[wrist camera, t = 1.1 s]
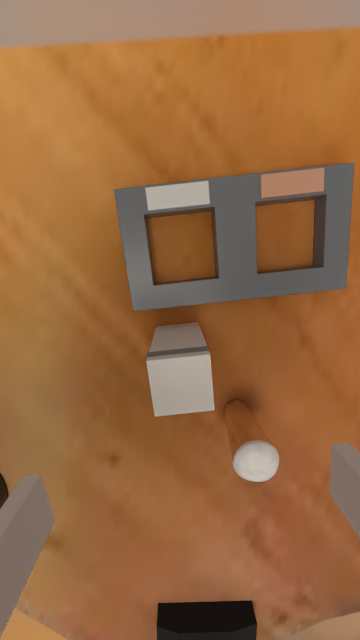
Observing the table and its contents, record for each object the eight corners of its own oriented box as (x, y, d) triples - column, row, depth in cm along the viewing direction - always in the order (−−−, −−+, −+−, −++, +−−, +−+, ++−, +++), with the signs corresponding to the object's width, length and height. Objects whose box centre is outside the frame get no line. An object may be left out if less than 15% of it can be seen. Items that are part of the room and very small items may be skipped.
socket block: (136, 307, 27) (132, 311, 25) (118, 195, 24) (113, 188, 22) (333, 286, 27) (347, 288, 25) (339, 170, 24) (356, 161, 22)
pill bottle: (215, 393, 30) (233, 455, 21) (255, 396, 30) (293, 460, 21) (210, 423, 31) (225, 496, 22) (249, 426, 32) (282, 500, 22)
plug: (161, 365, 29) (154, 417, 19) (155, 326, 28) (145, 360, 18) (201, 361, 29) (215, 410, 19) (198, 321, 28) (210, 353, 18)
